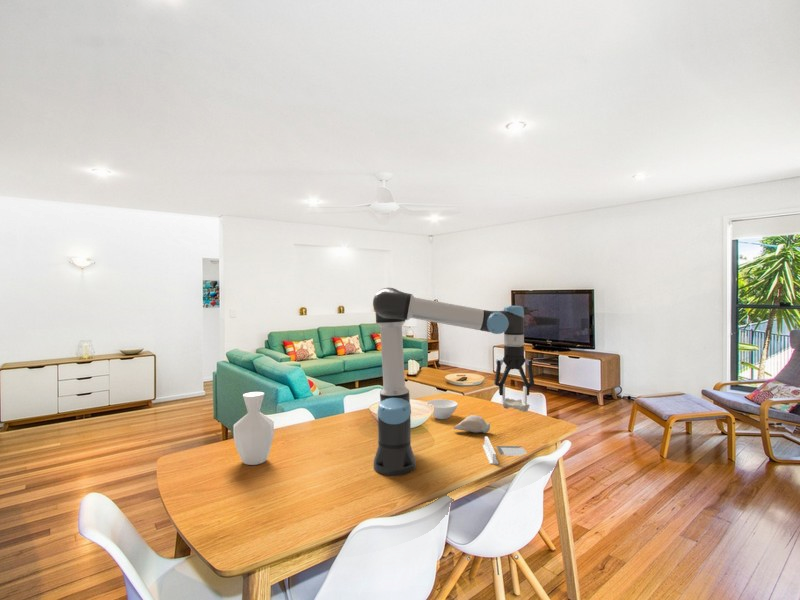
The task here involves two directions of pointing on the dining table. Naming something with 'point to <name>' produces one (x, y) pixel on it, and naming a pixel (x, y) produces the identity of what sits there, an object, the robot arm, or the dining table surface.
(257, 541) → the dining table surface
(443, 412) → the bowl
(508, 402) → the coral
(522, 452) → the rest mat
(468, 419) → the decorative bird
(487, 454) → the divider wall
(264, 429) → the vase
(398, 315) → the robot arm
